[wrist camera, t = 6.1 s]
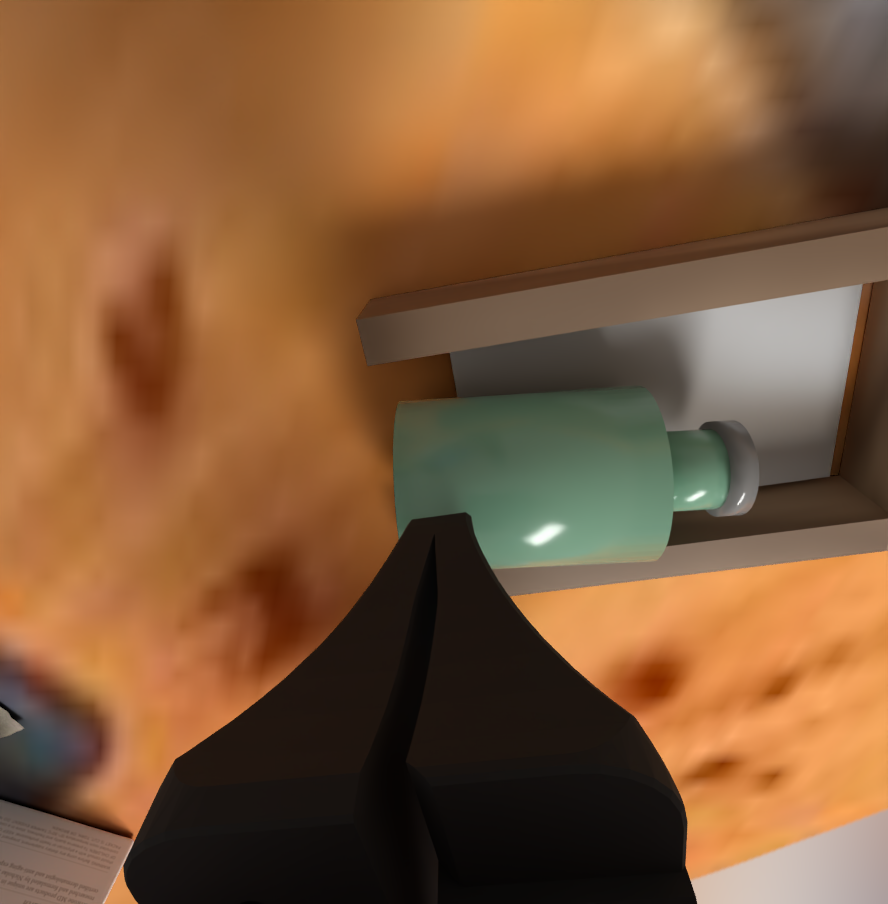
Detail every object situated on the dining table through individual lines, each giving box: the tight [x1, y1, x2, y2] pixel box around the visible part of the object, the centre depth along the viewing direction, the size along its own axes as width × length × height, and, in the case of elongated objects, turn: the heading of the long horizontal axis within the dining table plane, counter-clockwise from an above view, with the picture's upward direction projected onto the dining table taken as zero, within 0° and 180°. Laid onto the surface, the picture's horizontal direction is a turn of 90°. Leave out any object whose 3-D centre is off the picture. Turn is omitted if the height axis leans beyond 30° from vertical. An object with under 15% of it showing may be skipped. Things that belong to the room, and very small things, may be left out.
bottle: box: [393, 386, 759, 569], centre depth 15 cm, size 5×5×9 cm
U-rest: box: [356, 207, 888, 596], centre depth 16 cm, size 9×15×2 cm, turn 100°
